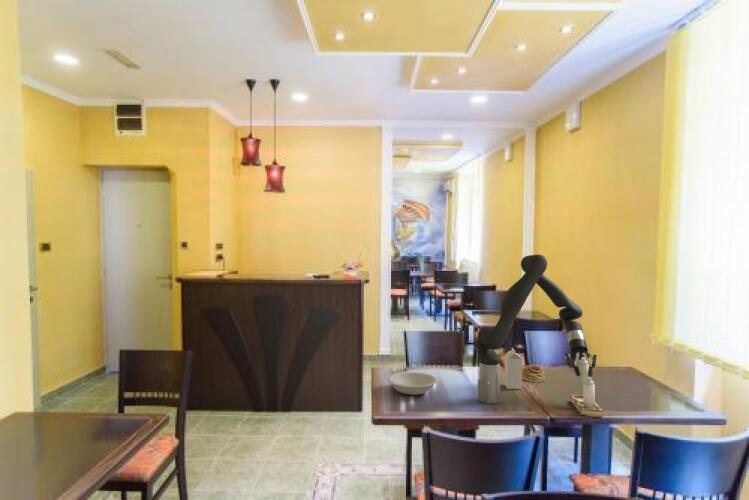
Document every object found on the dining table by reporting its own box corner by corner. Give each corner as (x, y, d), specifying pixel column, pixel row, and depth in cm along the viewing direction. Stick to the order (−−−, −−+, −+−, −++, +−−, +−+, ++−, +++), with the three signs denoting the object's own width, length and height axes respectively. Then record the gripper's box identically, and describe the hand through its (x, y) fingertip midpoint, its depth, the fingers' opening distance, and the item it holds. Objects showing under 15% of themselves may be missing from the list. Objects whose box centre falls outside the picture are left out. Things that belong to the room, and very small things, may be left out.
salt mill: (591, 410, 187) (591, 379, 187) (581, 406, 191) (581, 376, 191) (596, 407, 190) (596, 377, 190) (586, 404, 193) (586, 375, 193)
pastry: (530, 383, 230) (531, 368, 230) (513, 375, 245) (513, 360, 245) (552, 381, 234) (552, 366, 234) (534, 373, 249) (534, 359, 248)
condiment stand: (602, 417, 185) (602, 410, 185) (582, 416, 186) (582, 408, 186) (589, 402, 203) (589, 395, 203) (570, 401, 204) (570, 394, 204)
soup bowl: (435, 402, 201) (436, 388, 201) (383, 399, 206) (383, 384, 206) (439, 386, 225) (439, 373, 225) (391, 383, 230) (391, 370, 230)
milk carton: (518, 385, 227) (519, 347, 227) (522, 389, 220) (522, 351, 220) (504, 384, 228) (504, 347, 228) (507, 389, 221) (507, 350, 220)
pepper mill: (585, 388, 196) (585, 359, 195) (575, 385, 199) (575, 357, 199) (590, 386, 198) (590, 357, 198) (581, 384, 202) (581, 355, 202)
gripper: (562, 337, 207) (569, 370, 195) (595, 338, 204) (604, 372, 193) (559, 346, 212) (565, 379, 200) (591, 347, 210) (599, 380, 198)
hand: (584, 375), depth 197 cm, fingers closed on pepper mill, 4 cm apart
